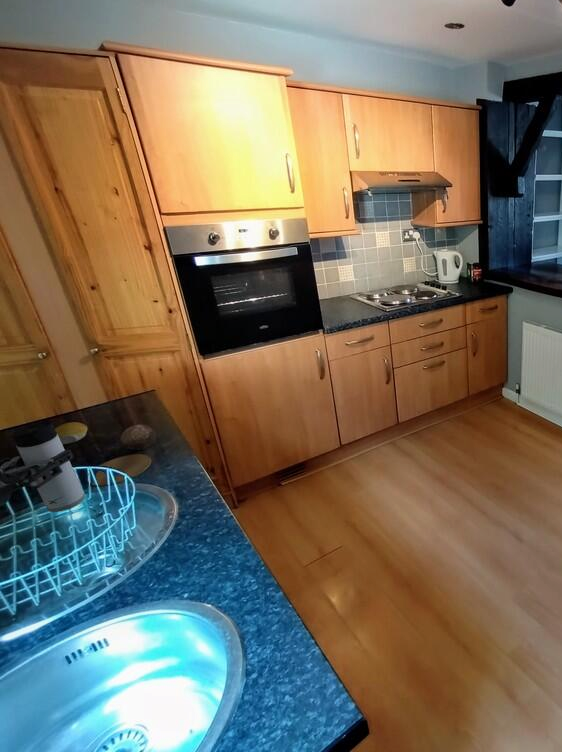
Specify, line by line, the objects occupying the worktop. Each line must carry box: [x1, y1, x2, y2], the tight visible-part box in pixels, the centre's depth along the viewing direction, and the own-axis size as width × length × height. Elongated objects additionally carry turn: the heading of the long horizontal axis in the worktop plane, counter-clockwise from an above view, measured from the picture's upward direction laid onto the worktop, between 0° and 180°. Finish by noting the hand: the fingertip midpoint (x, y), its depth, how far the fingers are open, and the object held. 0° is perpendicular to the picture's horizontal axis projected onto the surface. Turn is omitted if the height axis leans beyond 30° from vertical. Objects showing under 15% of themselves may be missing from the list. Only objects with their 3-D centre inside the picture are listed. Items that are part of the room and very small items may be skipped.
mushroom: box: [119, 424, 158, 451], centre depth 126 cm, size 8×8×6 cm
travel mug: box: [10, 420, 86, 513], centre depth 97 cm, size 6×7×20 cm
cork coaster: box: [86, 453, 152, 487], centre depth 117 cm, size 13×13×1 cm
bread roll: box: [55, 421, 88, 446], centre depth 130 cm, size 8×9×4 cm
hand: (56, 452), depth 98 cm, fingers closed on travel mug, 6 cm apart
